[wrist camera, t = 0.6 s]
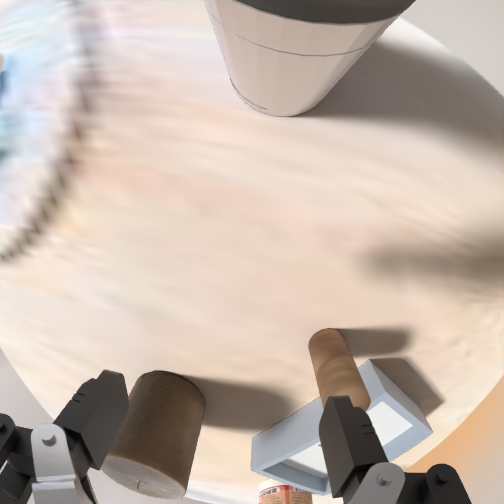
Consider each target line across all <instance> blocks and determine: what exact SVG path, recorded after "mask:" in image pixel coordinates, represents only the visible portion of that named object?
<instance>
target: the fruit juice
mask: <svg viewBox="0 0 504 504" xmlns="http://www.w3.org/2000/svg"><path fill="white" fill-rule="evenodd" d="M259 504H312V495H311V492H309V491H305V490H302V489H299V488H296V487H293V486H290V485H287V484H284V483H281V482H279V481H276V480H273V479H271V478H269V479H266V480H264V481H263V482H262V483H261V484H260V487H259Z"/></svg>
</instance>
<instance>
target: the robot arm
mask: <svg viewBox="0 0 504 504" xmlns="http://www.w3.org/2000/svg"><path fill="white" fill-rule="evenodd" d="M414 1H415V0H204V3H205V5H206V8H207V11H208V14H209V17H210V19H211V22H212V25H213V28H214V31H215V34H216V37H217V40H218V42H219V45H220V48H221V51H222V54H223V57H224V60H225V63H226V66H227V69H228V72H229V75H230V80H231V82H232V84H233V87H234V89H235V90H236V92H237V94H238V95H239V97H240V98H241V99H242V100H243V101H244V102H245V103H246V104H248V105H249V106H251V107H252V108H253V109H255V110H257V111H260V112H262V113H264V114H268V115H273V116H284V117H287V116H294V115H298V114H301V113H304V112H307V111H309V110H310V109H312V108H314V107H315V106H316V105H317V104H318V103H319V102H320V101H321V100H322V99H323V98H324V97H325V96H326V95H327V94H328V93H329V91H330V90H331V89H332V88H333V87H334V86H335V85H336V84H337V83H338V81H339V80H340V79H341V78H342V77H343V76H344V75H345V74H346V72H347V71H348V70H349V69H350V68H351V67H352V66H353V65H354V64H355V63H356V61H357V60H358V59H359V58H360V57H361V56H362V55H363V54H364V53H365V52H366V51H367V49H368V48H369V47H370V46H371V45H372V44H373V43H374V42H375V41H376V40H377V39H378V38H379V37H380V36H381V35H382V33H383V32H384V31H385V30H386V29H387V28H388V27H389V26H390V25H391V24H392V23H393V22H394V21H395V20H396V19H397V18H398V17H399V16H400V14H402V13H403V12H404V11H405V10H406V9H407V8H408V7H409V6H410V5H411V4H412V3H413V2H414ZM128 410H129V399H128V394H127V389H126V384H125V379H124V376H123V374H121V373H117V372H113V371H109V370H104V371H103V372H102V373H101V374H100V375H99V377H98V378H97V379H94V378H92V379H90V380H88V381H87V382H85V383H83V384H82V385H81V387H80V388H79V389H78V391H77V393H75V394H74V396H73V397H72V400H70V401H69V402H68V404H67V405H66V406H65V408H64V409H63V410H62V412H61V413H60V414H59V416H58V417H57V418H56V420H55V421H54V422H53V423H52V424H50V423H46V424H41V425H39V426H37V427H36V428H35V429H34V430H33V429H28V428H23V427H18V426H16V425H15V424H14V422H13V420H12V419H11V418H10V416H8V415H6V414H1V413H0V469H1V468H2V466H3V464H4V463H5V461H6V460H7V461H8V462H7V464H6V466H5V467H4V469H3V471H2V472H1V474H0V504H27V502H28V500H29V498H30V496H31V493H32V491H33V496H34V501H35V504H98V501H97V499H96V496H95V494H94V491H93V488H92V486H91V483H90V480H89V477H88V475H87V471H88V469H89V468H90V467H91V468H94V469H96V470H100V468H101V466H102V464H103V462H104V460H105V458H106V456H107V454H108V452H109V450H110V448H111V446H112V444H113V442H114V440H115V438H116V436H117V434H118V432H119V430H120V428H121V426H122V424H123V422H124V420H125V418H126V416H127V414H128ZM319 438H320V442H321V447H322V451H323V456H324V460H325V465H326V469H327V474H328V478H329V483H330V487H331V492H332V497H333V498H339V497H343V501H344V504H472V503H471V501H470V499H469V497H468V494H467V492H466V490H465V488H464V486H463V484H462V482H461V480H460V478H459V476H458V473H457V472H456V470H455V469H454V468H453V467H451V466H449V465H447V464H436V465H434V466H432V467H431V468H430V469H429V470H428V471H427V472H426V473H406V472H403V470H402V469H401V468H400V467H399V466H397V465H395V464H393V463H389V461H388V459H387V456H386V454H385V452H384V449H383V447H382V445H381V442H380V440H379V438H378V435H377V434H376V431H375V429H374V426H372V422H371V420H370V417H369V415H368V414H367V413H366V412H365V411H364V410H363V409H362V408H361V407H353V404H352V402H351V399H350V397H349V396H348V395H340V396H329V397H328V399H327V401H326V404H325V407H324V410H323V413H322V416H321V419H320V422H319Z"/></svg>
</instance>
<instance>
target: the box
mask: <svg viewBox="0 0 504 504" xmlns="http://www.w3.org/2000/svg"><path fill="white" fill-rule="evenodd" d="M358 371H359V373H360V375H361V377H362V380H363V382H364V384H365V387H366V389H367V391H368V394H369V396H370V398H371V403H370V406H369V408H368V409H367V411H366V413H367V414H368V415H369V417H370V420H371V422H372V426H374V429H375V431H376V434H377V435H378V438H379V440H380V442H381V445H382V447H383V449H384V452H385V454H386V456H387V459H388V461H389V462H391V461H393V460H394V459H396V458H397V457H399V456H401V455H402V454H404V453H405V452H407V451H408V450H410V449H411V448H413V447H414V446H416V445H417V444H419V443H420V442H421V441H423V440H424V439H426V438H427V437H428V436H430V435H431V434H432V433H433V431H432V429H431V427H430V425H429V423H428V422H427V420H426V418H425V416H424V414H423V413H422V411H421V409H420V407H419V406H418V405H417V404H416V403H415V402H414V401H413V400H412V399H411V398H410V397H408V396H407V395H406V394H405V393H404V392H403V391H402V390H401V389H400V388H399V387H398V386H397V385H396V384H395V383H394V382H393V381H391V380H390V379H389V378H388V377H387V376H386V375H385V374H384V373H383V372H382V371H381V370H380V369H379V368H378V367H377V366H376V365H374V364H373V363H372V362H371V361H370V360H368V361H367V362H365V363H364V364H363V365H362V366H360V367H359V368H358ZM322 413H323V405H322V401H321V397H318V398H317V399H315V400H314V401H312V402H311V403H309V404H308V405H306V406H305V407H303V408H302V409H300V410H299V411H297V412H295V413H294V414H292V415H291V416H289V417H287V418H286V419H284V420H282V421H281V422H279V423H277V424H276V425H274V426H272V427H271V428H269V429H267V430H265V431H264V432H262V433H260V434H258V435H256V436H254V437H253V438H252V448H251V471H253V472H256V473H258V474H261V475H263V476H266V477H268V478H271V479H273V480H276V481H279V482H281V483H284V484H287V485H290V486H293V487H296V488H299V489H302V490H305V491H309V492H312V493H315V494H319V495H322V496H324V495H326V494H329V493H331V487H330V483H329V478H328V474H327V469H326V465H325V460H324V456H323V451H322V447H321V442H320V438H319V422H320V419H321V416H322Z"/></svg>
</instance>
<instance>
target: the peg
mask: <svg viewBox="0 0 504 504" xmlns="http://www.w3.org/2000/svg"><path fill="white" fill-rule="evenodd" d="M309 351H310V355H311V359H312V363H313V367H314V372H315V376H316V380H317V384H318V388H319V392H320V397H321V401H322V405H323V410H324V407H325V404H326V401H327V399H328V397H329V396H340V395H348V396H349V397H350V399H351V402H352V404H353V407H361V408H362V409H363V410H364V411H365V412H366V411H367V409H368V408H369V406H370V403H371V398H370V396H369V394H368V391H367V389H366V387H365V384H364V382H363V380H362V377H361V375H360V373H359V371H358V368H357V366H356V364H355V362H354V359H353V357H352V355H351V353H350V350H349V348H348V346H347V344H346V342H345V340H344V337H343V335H342V334H341V333H340V332H339V331H338V330H336V329H331V328H328V329H323V330H320V331H318V332H317V333H315V334H314V335H313V336H312V337H311V339H310V341H309Z"/></svg>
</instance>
